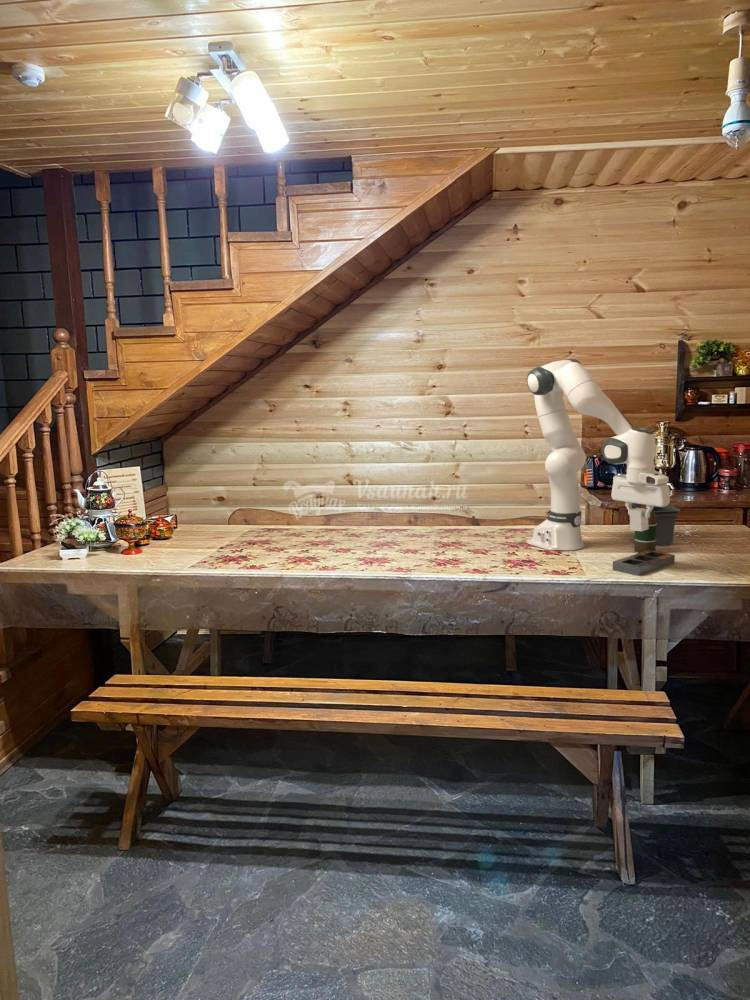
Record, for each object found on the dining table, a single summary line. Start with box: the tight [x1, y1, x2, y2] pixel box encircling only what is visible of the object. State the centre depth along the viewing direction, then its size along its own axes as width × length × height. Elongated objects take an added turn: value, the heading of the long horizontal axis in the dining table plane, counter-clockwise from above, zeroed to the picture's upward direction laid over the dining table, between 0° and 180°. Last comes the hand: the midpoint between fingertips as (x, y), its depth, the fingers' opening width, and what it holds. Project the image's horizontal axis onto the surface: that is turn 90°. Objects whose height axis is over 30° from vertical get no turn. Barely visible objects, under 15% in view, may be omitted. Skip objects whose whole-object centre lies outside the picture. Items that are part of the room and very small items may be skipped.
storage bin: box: [631, 503, 681, 547], centre depth 289 cm, size 21×16×14 cm
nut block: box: [629, 508, 648, 532], centre depth 248 cm, size 4×4×7 cm
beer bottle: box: [633, 504, 657, 554], centre depth 273 cm, size 8×8×24 cm
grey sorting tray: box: [612, 550, 676, 577], centre depth 253 cm, size 10×22×4 cm, turn 128°
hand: (638, 516), depth 248 cm, fingers closed on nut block, 4 cm apart
